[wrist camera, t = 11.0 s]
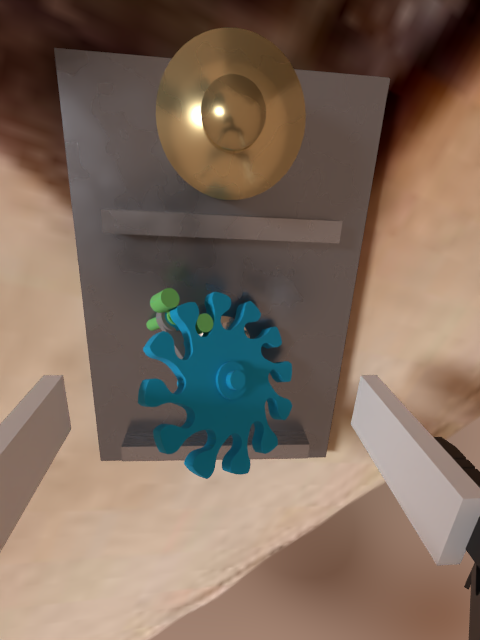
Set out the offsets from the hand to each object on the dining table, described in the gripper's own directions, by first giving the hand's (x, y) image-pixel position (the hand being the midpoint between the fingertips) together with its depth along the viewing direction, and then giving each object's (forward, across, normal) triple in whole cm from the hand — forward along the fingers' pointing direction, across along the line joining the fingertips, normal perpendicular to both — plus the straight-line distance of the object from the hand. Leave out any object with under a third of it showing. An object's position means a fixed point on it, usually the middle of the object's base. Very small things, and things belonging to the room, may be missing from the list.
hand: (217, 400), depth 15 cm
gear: (+8, 0, -1) cm, 8 cm away
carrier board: (+9, 0, +2) cm, 9 cm away
